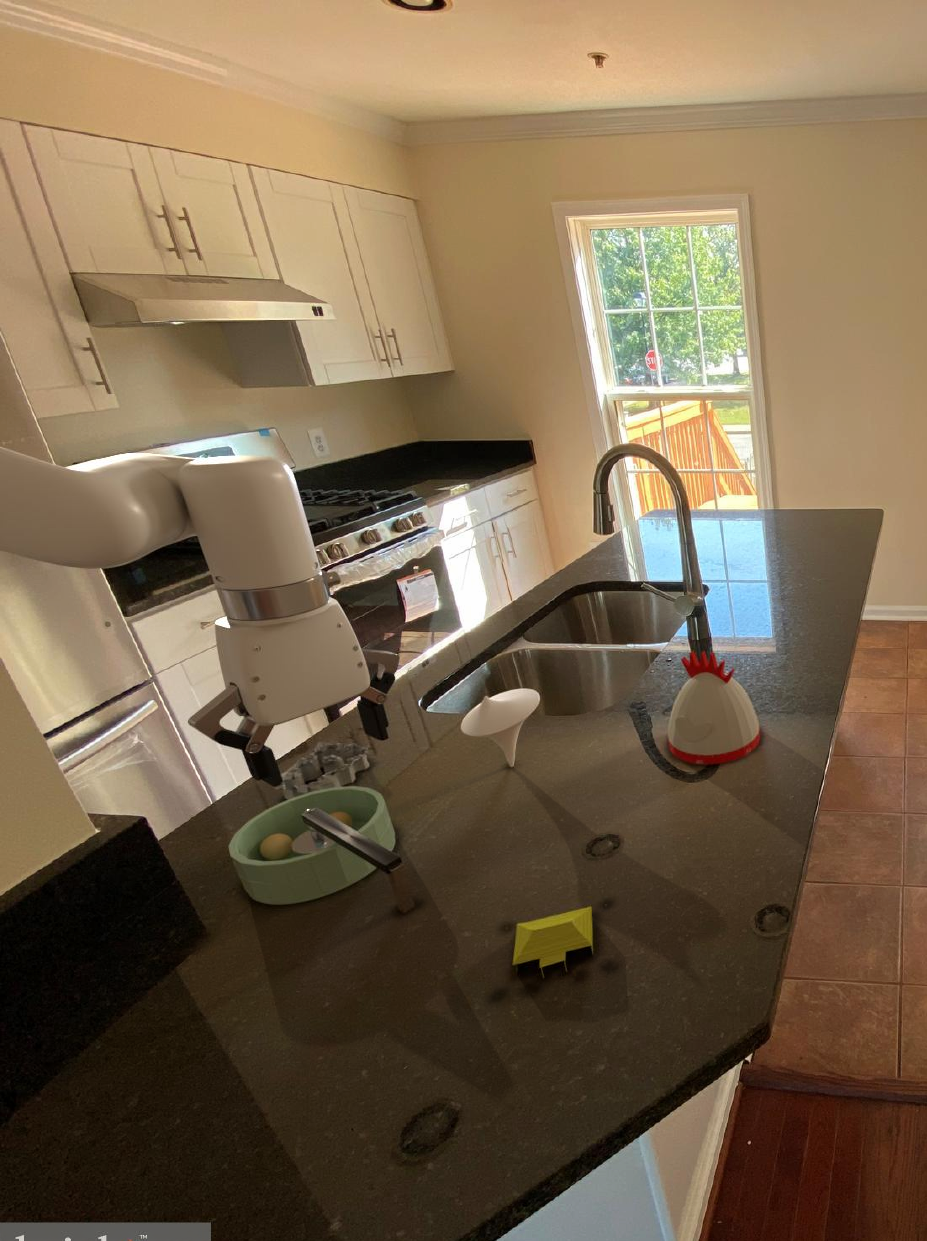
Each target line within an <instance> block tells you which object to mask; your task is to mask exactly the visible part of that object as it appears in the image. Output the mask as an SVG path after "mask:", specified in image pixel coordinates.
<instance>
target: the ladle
mask: <svg viewBox="0 0 927 1241" xmlns="http://www.w3.org/2000/svg"><path fill="white" fill-rule="evenodd" d="M301 816H302V819H303V822H304V823H305V824H307V825H308V827H309V830H308V831H306V832H304V833H303V834H301V835H300V836H298V837H297V838H296V839H295V840H294V841H293V843H292V850H293V853H294V856H295V857H300V856H304V855H308V854H311V853H314V852H317V851H319V850H322V849H325V848H327V847H330V846H332V845H334V844H336V843H338V844H339V845H341V846H342V847H344V848H346V849H347V850H349V851H351V852H352V853H354V854H356V855H357V856H359V857H360V858H362V859H364V860H365V861H367V862H369V863H370V864H372V865H373V866H375V867H377V868H376V869H378V870H380V871H381V872H384V873H385V874H386V875H388V878H389V882H390V886H391V888H392V892H393V895H394V898H395V902H396V906H397V908H398V911H400V913H403V914H406V913H408V912H410V910H412V909H413V908H415V907H416V905H415V901H414V898H413V895H412V890H411V887H410V884H409V881H408V877H407V874H406V870H405V867H404V864H403V861H402V858H401V856H400V855H398V854H397V853H395V852H393V851H392V852H391V851H390V850H388V849H386V848H385V847H383V846H381V845H379V844H378V843H376V842H374V841H373V840H371V839H369V838H368V837H366V836H364V835H363V834H361V833H359V832H357V831H356V830H354V829H352V828H351V827H349V826H347V825H346V824H344V823H342V822H340V821H339V820H337V819H335V818H334V817H332V816H330V815H329V814H327V813H325V812H324V811H322V810H320V809H318V808H317V807H316V808H314V809H308V810H306V811H305V812H304V813H303V814H301Z"/></svg>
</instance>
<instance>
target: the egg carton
mask: <svg viewBox="0 0 927 1241" xmlns="http://www.w3.org/2000/svg"><path fill="white" fill-rule="evenodd" d="M370 747H371V746H370V745H369V744H365V745H364V746H360V745H358V744H357V743H355V742H353V743H351V744H348V743H346V742H345V743H344V742H343V743H340V742H335V743H329V742H325V741H319V742H317V743H316V745H315V746H314V748H313V749H312V750H311V751H310V752H309V753H307V754H305V755H304V757H299V759H297V760H296V763H294V764H293V765H291V766H290V767H289V768H288V769H287V770H285V771H284V772H281V773H280V774H281V776H282V779H283V782H282V784H281V785H279V786H277V787H273V790H274V789H275V790H279V789H281V791H282V793H283V797H284V799H286V800H289V799H291V798H294V797H297V796H300V795H304V794H307V793H310V792H313V791H318V790H323V789H328V788H333V787H344V786H345V785H348V784H352V783H354V781H355V780H356V773H357V772H359V771H364V770H367V769H368V768H370V763H369V761H368V758H367V757H368V756H367V754H369V753H370V750H369V748H370ZM321 768H323V772H324V774H323V772H322V769H321ZM312 780H317V781H312ZM307 781H312V782H309V783H308V784H306V782H307Z"/></svg>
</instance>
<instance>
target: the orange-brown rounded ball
mask: <svg viewBox="0 0 927 1241" xmlns="http://www.w3.org/2000/svg"><path fill="white" fill-rule="evenodd" d="M292 843H293V841H292V839H291V838H290V837H289V836H288V835H285V834H273V835H270V836H269V837H267V838H266V839H264V841H263V842H262V843H261V845H260V853H261V855H262V856H263V857H264V858H266V859H269V860H278V859H282V858H284V857H286V856H287V855H288V854H289V853H290V852H291V850H292Z"/></svg>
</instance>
